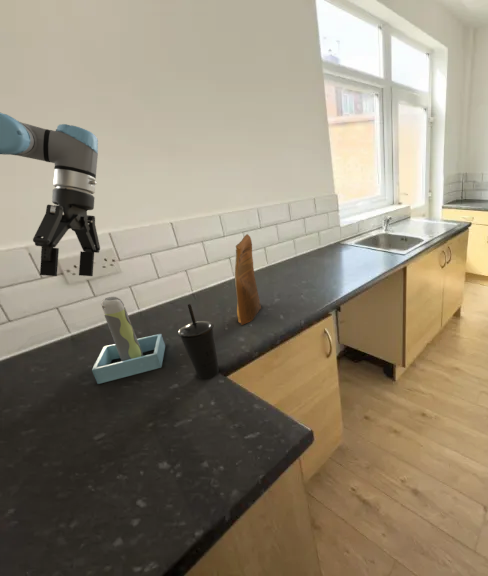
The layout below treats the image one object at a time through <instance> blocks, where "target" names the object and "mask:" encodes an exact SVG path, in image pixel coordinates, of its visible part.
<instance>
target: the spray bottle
mask: <svg viewBox="0 0 488 576" xmlns="http://www.w3.org/2000/svg"><path fill="white" fill-rule="evenodd" d="M100 305H101V308H102V311H103V314H104V318H105V321H106V323H107V327H108V329H109V331H110V334H111V336H112V339H113V342H114V344H115V345H116V348H117V350H118V353H119V356H120V358H119V359H120V362H121V361H125V360H129V359H133V358H137V357H141V356H145V355H144V352H143V353H142V350H141V348H140V345H139V342H138V340H137V339H138V338H137V335H136V332H135V330H134V327H133V324H132V322H131V319H130V317H129V314H128V311H127V309H126V307H125V304H124V302H123V301H122V299H120V298H119V297H117V296H108V297H105V298H104V299H103V300H102V301H101V302H100Z"/></svg>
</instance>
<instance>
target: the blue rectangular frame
mask: <svg viewBox="0 0 488 576" xmlns="http://www.w3.org/2000/svg"><path fill="white" fill-rule="evenodd" d="M137 340H138V342H139V345H140V348H141V350H142V353H143V354H144V353H147V352H151V351H153V353H150V354H146V355H144V356H141V357H137V358H133V359H129V360H125V361H121V360H120V361H117V362H113V360H118V359H121V358H120V356H119V353H118V350H117V348H116V345H115V343H113V344H109V345H104V346H103V347H102V349H101V351H100V353H99V355H98V357H97V359H96V361H95V362H94V364H93V367H92V369H91V372H92V375H93V377H94V379H95V381H96V383H97V385H100V384H103V383H107V382H111V381H116V380H119V379H124V378H126V377H131V376H135V375H139V374H142V373H146V372H150V371H153V370H157V369H161V368H162V367H163V360H164V356H165V350H166V344H165V340H164V338H163V334H162V333H158V334H153V335H149V336H145V337H140V338H137ZM112 362H113V363H112Z"/></svg>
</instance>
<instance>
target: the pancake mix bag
mask: <svg viewBox="0 0 488 576" xmlns="http://www.w3.org/2000/svg"><path fill="white" fill-rule="evenodd" d="M253 258H254V257H253V243H252V238H251V236H250V234H249V233H246V234H245V235H244V236H243V238H242V239H241V240H240V241H239V242H238V243H237V244H236V245H235V263H234V284H235V285H234V286H235V290H236V291H235V293H236V315H237V321H238V324H240V326H244V325H245V324H248V323H250V322H252V321H253V320H254V319H255V318H256V316H257V315H258V313H259V312H260V311H261V309H262V305H261V301H260V296H259V291H258V287H257V286H258V285H257V280H256V277H255V268H254V259H253Z"/></svg>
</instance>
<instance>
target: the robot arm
mask: <svg viewBox="0 0 488 576" xmlns="http://www.w3.org/2000/svg"><path fill="white" fill-rule="evenodd" d="M98 142H99V140H98V138H97V136H96V135H95V134H94V133H93V132H92V131H90V130H88V129H86V128H83V127H80V126H76V125H74V124H73V125H72V124H71V125H70V124H67V123H61V124H58V125H57V126H56V129H55V130H52V129H47V128H42V127H39V126H35V125H32V124H29V123H26V122H21V121H19V120H17V119H16V118H14V117H12V116H11V115H9V114H6V113H2V112H0V155H3V156H5V155H7V156H8V155H9V156H10V155H11V156H18V157H23V158H27V159H32V160H37V161H43V162H46V163H52V164H54V166H53V167H54V168H53V180H52V186H53V187H55V188H53V189H52V194H51V197H52V198H51V202H52V204H46V208H45V214H44V216H43V218H42V220H41V222H40V224H39V225H38V228H37V230H36V232H35V234H34V236H33V238H32V242H33V243H34V245H35V246H36V247H41V248H40V249H41V250H40V267H39V268H40V269H39V276H49V277H58V267H59V265H58V264H59V253H60V252H59V251H60V248H59V247H57V245H58V244H59V243H60V241H61V240H62V239H63V237H64V236H65V235H66V233H67V232H68V231H69V230H72V231H73V232H74V233H75V235H76V238H77V240H78V242H79V244H80V247H81V249H82V251H80V253H79V265H78V266H79V267H78V276H83V277H93V275H94V263H95V253H96V254H99V253H100V252H101V246H100V240H99V237H98V230H97V227H96V216H95V215H89V214H88V211H92V210H94V209H95V196H94V194H95V193H96V191H95V190H96V185H97V183H98V182H97V181H96V179H97V167H98V159H99V158H98V156H99V143H98Z"/></svg>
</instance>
